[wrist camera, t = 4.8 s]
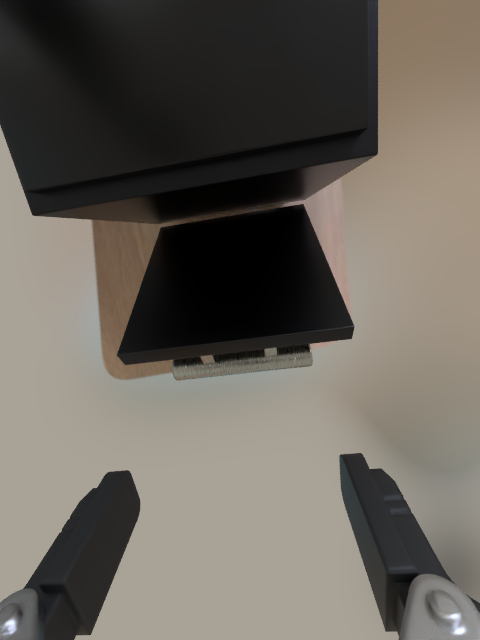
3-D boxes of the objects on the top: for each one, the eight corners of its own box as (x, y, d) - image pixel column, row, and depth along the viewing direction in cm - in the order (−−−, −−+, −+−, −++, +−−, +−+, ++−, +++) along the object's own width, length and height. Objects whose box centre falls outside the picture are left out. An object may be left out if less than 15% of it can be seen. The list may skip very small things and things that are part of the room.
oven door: (302, 251, 27) (343, 377, 17) (178, 270, 28) (151, 397, 18) (303, 203, 23) (354, 326, 14) (160, 227, 25) (116, 355, 15)
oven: (300, 202, 26) (386, 149, 9) (168, 224, 27) (19, 215, 10) (283, -18, 21) (397, -1056, 4) (124, 21, 23) (-298, -647, 5)
